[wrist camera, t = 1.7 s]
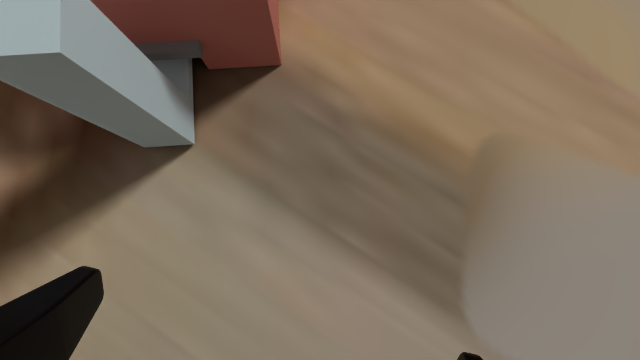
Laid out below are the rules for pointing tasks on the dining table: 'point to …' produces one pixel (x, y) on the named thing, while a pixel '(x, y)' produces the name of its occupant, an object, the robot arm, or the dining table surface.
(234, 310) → the dining table surface
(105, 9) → the block
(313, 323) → the dining table surface
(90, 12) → the light blue l-shaped piece
